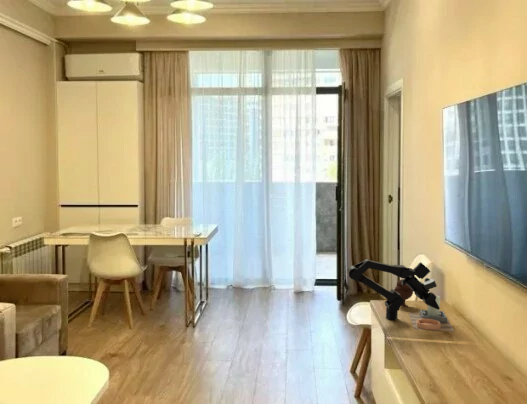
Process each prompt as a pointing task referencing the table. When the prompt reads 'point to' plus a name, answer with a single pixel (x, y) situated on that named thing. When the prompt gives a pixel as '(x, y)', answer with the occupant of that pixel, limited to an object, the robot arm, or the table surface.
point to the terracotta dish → (428, 324)
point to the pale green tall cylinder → (433, 311)
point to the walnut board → (443, 327)
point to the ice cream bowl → (403, 292)
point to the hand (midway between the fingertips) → (435, 306)
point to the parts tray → (441, 317)
